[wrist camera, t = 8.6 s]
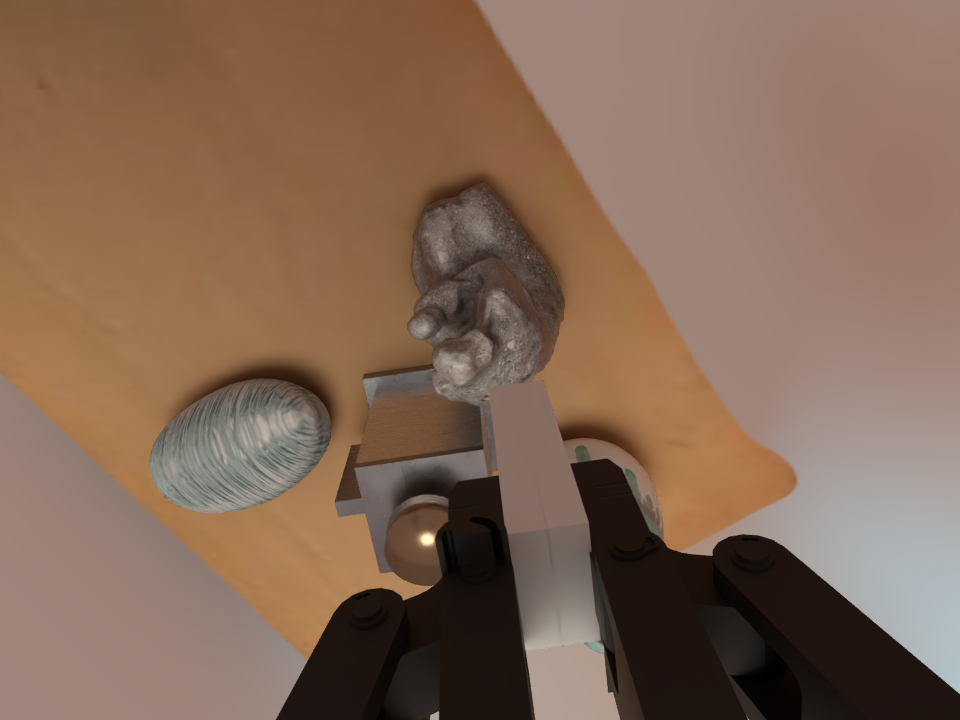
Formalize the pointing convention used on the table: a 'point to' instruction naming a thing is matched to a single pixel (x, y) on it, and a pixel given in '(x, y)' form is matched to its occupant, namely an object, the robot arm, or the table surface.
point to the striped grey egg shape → (240, 446)
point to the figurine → (482, 296)
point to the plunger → (416, 539)
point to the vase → (636, 479)
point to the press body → (412, 449)
